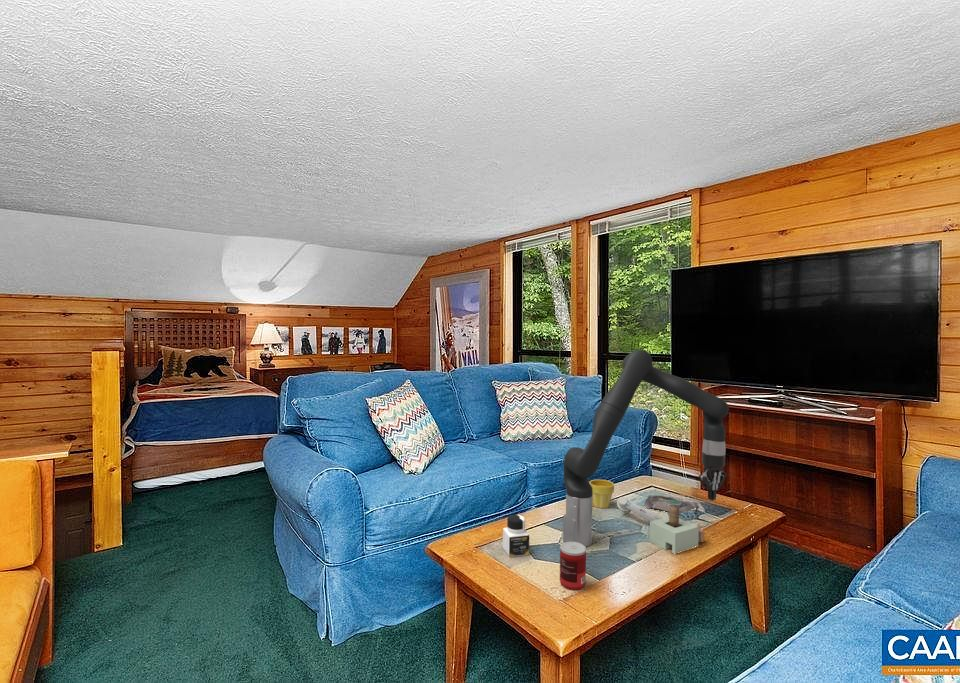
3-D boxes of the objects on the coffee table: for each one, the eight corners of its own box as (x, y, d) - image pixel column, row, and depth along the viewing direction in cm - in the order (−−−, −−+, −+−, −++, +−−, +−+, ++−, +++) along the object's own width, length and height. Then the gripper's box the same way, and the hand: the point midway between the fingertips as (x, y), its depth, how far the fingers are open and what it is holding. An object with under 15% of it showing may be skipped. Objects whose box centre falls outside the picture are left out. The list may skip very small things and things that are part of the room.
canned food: (581, 576, 149) (582, 541, 149) (588, 590, 141) (589, 553, 141) (557, 576, 149) (557, 541, 149) (562, 590, 141) (563, 553, 141)
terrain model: (642, 509, 206) (642, 502, 206) (648, 499, 220) (648, 491, 220) (694, 519, 197) (694, 511, 197) (697, 507, 210) (697, 500, 210)
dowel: (674, 537, 170) (674, 509, 170) (666, 534, 173) (667, 506, 173) (680, 536, 172) (681, 508, 171) (673, 532, 174) (673, 505, 174)
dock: (674, 554, 165) (675, 533, 164) (649, 541, 174) (649, 521, 174) (698, 546, 170) (698, 526, 170) (672, 534, 180) (672, 515, 180)
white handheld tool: (670, 532, 178) (611, 501, 196) (673, 540, 182) (616, 508, 200) (676, 520, 180) (618, 490, 198) (680, 529, 184) (622, 498, 202)
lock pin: (679, 549, 168) (679, 538, 168) (673, 546, 170) (674, 535, 170) (704, 541, 174) (704, 530, 174) (698, 539, 176) (698, 528, 176)
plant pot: (600, 499, 216) (600, 477, 216) (618, 506, 207) (619, 484, 207) (583, 504, 210) (584, 481, 210) (602, 511, 202) (602, 488, 201)
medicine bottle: (509, 557, 161) (509, 521, 160) (502, 547, 168) (503, 513, 167) (529, 555, 163) (529, 519, 162) (521, 545, 170) (522, 511, 169)
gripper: (716, 448, 182) (714, 493, 183) (692, 451, 176) (690, 498, 177) (734, 452, 176) (732, 500, 176) (711, 456, 170) (709, 505, 170)
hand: (711, 499), depth 176 cm, fingers closed
